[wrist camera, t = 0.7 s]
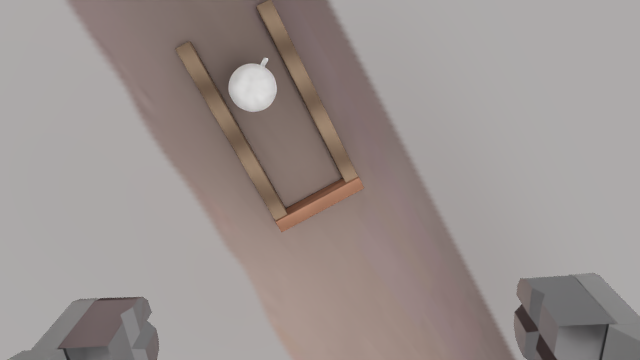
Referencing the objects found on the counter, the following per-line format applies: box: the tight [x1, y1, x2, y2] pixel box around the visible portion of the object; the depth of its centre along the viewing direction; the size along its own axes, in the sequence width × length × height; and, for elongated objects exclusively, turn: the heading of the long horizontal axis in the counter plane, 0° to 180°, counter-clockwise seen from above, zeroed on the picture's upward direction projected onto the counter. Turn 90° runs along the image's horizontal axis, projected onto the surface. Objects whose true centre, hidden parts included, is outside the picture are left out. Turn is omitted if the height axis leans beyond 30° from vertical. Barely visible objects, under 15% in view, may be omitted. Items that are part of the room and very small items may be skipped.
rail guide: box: [175, 0, 364, 232], centre depth 51 cm, size 24×11×2 cm, turn 27°
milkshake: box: [228, 57, 277, 112], centre depth 46 cm, size 5×5×10 cm
